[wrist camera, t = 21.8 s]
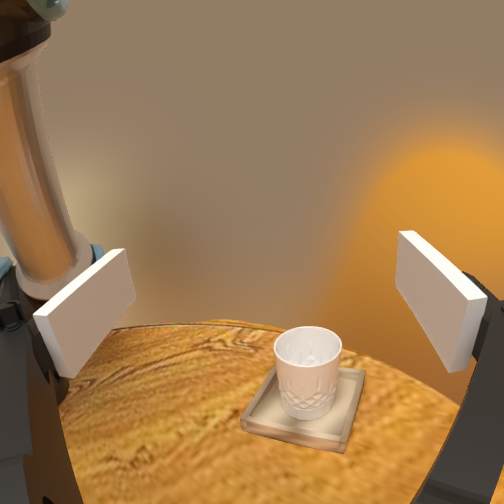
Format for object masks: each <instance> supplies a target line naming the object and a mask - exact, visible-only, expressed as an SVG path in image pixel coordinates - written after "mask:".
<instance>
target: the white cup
mask: <svg viewBox="0 0 504 504" xmlns="http://www.w3.org/2000/svg"><path fill="white" fill-rule="evenodd" d="M341 351H342V342H341V340H340V338H339V337H338V336H337V335H336V334H335V333H334V332H332V331H330V330H328V329H325V328H321V327H315V326H304V327H298V328H294V329H291V330H288V331H286V332H284V333H283V334H281V335H280V336H279V337H278V338H277V339H276V341H275V343H274V355H275V363H276V371H277V378H278V384H279V390H280V393H281V398H282V407H283V409H284V410H285V412H286V413H287V414H288V415H289V416H291V417H293V418H295V419H297V420H307V421H310V420H314V419H318V418H321V417H322V416H324V415H325V414H326V413H328V412H329V411H330V409H331V406H332V404H333V399H334V394H335V390H336V384H337V379H338V373H339V366H340V358H341Z"/></svg>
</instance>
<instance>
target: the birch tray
mask: <svg viewBox="0 0 504 504" xmlns="http://www.w3.org/2000/svg"><path fill="white" fill-rule="evenodd" d="M365 373H366V370H358V369H351V368H343V367H339V373H338V379H337V384H336V390H335V394H334V399H333V404H332V406H331V409H330V411H329V412H328V413H326V414H325V415H324V416H322V417H321V418H318V419H314V420H310V421H307V420H297V419H295V418H293V417H291V416H289V415H288V414H287V413H286V412H285V410H284V409H283V407H282V398H281V393H280V390H279V384H278V378H277V371H276V363H275V365H274V366H273V368H272V370H271V371H270V373H269V374H268V376H267V378H266V379H265V381H264V382H263V384H262V385H261V387H260V389H259V390H258V392H257V393H256V395H255V396H254V398H253V399H252V401H251V403H250V404H249V406H248V407H247V409H246V410H245V412H244V413H243V415H242V416H241V418H240V421H241V426H242V430H243V431H247V432H250V433H253V434H257V435H261V436H264V437H268V438H272V439H276V440H280V441H284V442H288V443H292V444H296V445H301V446H305V447H310V448H315V449H320V450H325V451H330V452H336V453H341V454H344V451H345V448H346V445H347V442H348V438H349V435H350V432H351V429H352V425H353V422H354V418H355V415H356V411H357V408H358V404H359V400H360V397H361V393H362V389H363V385H364V380H365Z"/></svg>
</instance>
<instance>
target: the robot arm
mask: <svg viewBox="0 0 504 504" xmlns="http://www.w3.org/2000/svg"><path fill="white" fill-rule="evenodd" d="M66 10H67V0H0V231H1V233H2V235H3V237H4V238H5V240H6V242H7V244H8V246H9V248H10V250H11V251H12V253H13V255H14V257H15V258H16V260H17V264H16V266H13V261H11V259H10V258H9V257H1V258H0V504H84V503H83V500H82V497H81V494H80V491H79V488H78V485H77V482H76V479H75V475H74V472H73V469H72V465H71V462H70V458H69V454H68V451H67V447H66V443H65V439H64V434H63V430H62V425H61V421H60V416H59V411H58V405H59V404H60V402H61V401H62V400H63V399H64V397H65V395H66V393H67V390H68V385H69V382H68V378H72V379H74V378H75V377H76V376H77V374H78V373H79V372H80V370H81V369H82V368H83V366H84V365H85V364H86V362H87V361H88V360H89V358H90V357H91V356H92V354H93V353H94V352H95V350H96V349H97V348H98V346H99V345H100V344H101V343H102V341H103V340H104V339H105V337H106V336H107V335H108V333H109V332H110V331H111V330H112V328H113V327H114V326H115V325H116V323H117V322H118V321H119V319H120V318H121V317H122V316H123V314H124V313H125V312H126V311H127V309H128V308H129V307H130V306H131V304H132V303H133V302H134V301H135V300H136V298H137V297H136V293H135V289H134V285H133V281H132V277H131V273H130V269H129V265H128V260H127V256H126V251H125V249H112V250H111V251H110V252H108V253H107V254H106V255H104V251H103V248H102V246H100V245H98V244H97V245H94V244H90V243H89V242H88V240H87V239H86V237H85V236H84V235H82V234H81V233H80V232H78V231H76V230H73V227H72V224H71V221H70V217H69V214H68V211H67V208H66V204H65V201H64V198H63V194H62V191H61V187H60V184H59V180H58V176H57V172H56V168H55V164H54V160H53V156H52V152H51V147H50V143H49V139H48V134H47V128H46V123H45V118H44V113H43V107H42V101H41V94H40V88H39V80H38V72H37V64H36V61H37V57H38V56H39V54H40V53H41V52H42V50H43V49H44V47H45V46H46V45H47V44H48V42H49V41H50V39H51V29H50V28H51V27H50V21H56V20H57V19H58V18H61V17H62V16H64V14H65V13H66ZM395 286H396V288H397V289H398V291H399V292H400V294H401V295H402V297H403V298H404V300H405V301H406V303H407V305H408V306H409V308H410V309H411V311H412V312H413V314H414V316H415V317H416V319H417V320H418V322H419V324H420V325H421V327H422V328H423V330H424V332H425V333H426V335H427V337H428V338H429V340H430V342H431V343H432V345H433V347H434V348H435V350H436V352H437V354H438V355H439V357H440V359H441V360H442V362H443V364H444V366H445V367H446V369H447V371H448V373H452V372H457V371H461V370H465V369H467V368H468V365H469V362H470V359H471V356H472V355H473V356H474V358H475V359H476V361H477V364H476V367H475V369H474V372H473V375H472V377H471V380H470V383H469V385H468V389H467V391H466V394H465V396H464V399H463V402H462V404H461V406H460V409H459V411H458V414H457V416H456V418H455V420H454V423H453V425H452V427H451V429H450V432H449V434H448V436H447V438H446V440H445V442H444V444H443V446H442V448H441V450H440V452H439V454H438V456H437V458H436V460H435V462H434V463H433V465H432V467H431V469H430V471H429V473H428V474H427V476H426V478H425V480H424V481H423V483H422V485H421V486H420V488H419V490H418V491H417V493H416V495H415V496H414V498H413V499H412V501H411V502H410V504H490V501H491V498H492V496H493V493H494V490H495V488H496V485H497V482H498V479H499V476H500V473H501V470H502V467H503V464H504V300H503V301H499V300H498V299H497V298H496V297H495V296H494V295H493V294H492V293H491V292H490V291H489V290H488V289H485V286H483V285H482V284H480V282H479V281H478V280H477V279H476V278H475V277H474V276H472V275H470V274H468V273H465V272H464V271H463V272H461V271H460V270H459V269H457V268H456V267H455V266H454V265H453V264H452V263H451V262H450V261H449V260H447V259H446V258H445V257H444V256H443V255H442V254H441V253H439V252H438V251H437V250H436V249H434V247H432V246H431V245H430V244H429V243H428V242H426V241H425V240H424V239H423V238H422V237H420V236H419V235H418V234H417V233H416V232H414V231H399V237H398V255H397V269H396V280H395Z"/></svg>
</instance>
